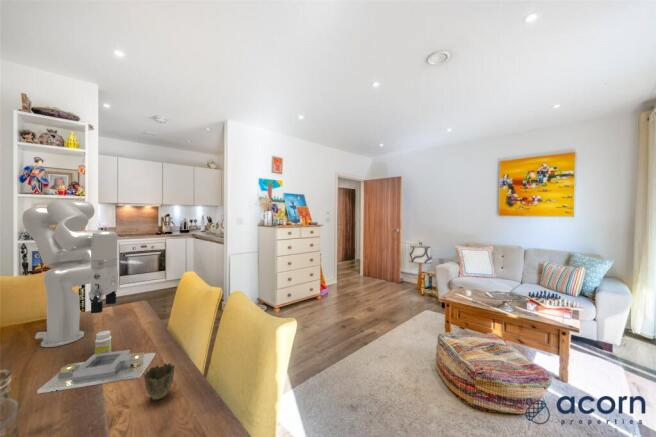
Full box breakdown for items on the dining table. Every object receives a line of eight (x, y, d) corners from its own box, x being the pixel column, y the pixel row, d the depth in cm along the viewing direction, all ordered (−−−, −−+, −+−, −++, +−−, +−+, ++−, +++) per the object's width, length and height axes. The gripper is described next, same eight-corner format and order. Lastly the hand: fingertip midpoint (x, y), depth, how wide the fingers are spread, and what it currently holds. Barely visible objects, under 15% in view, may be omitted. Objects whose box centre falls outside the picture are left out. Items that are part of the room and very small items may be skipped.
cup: (141, 410, 68) (141, 381, 68) (146, 393, 75) (146, 366, 75) (173, 401, 72) (173, 373, 72) (175, 385, 78) (175, 360, 78)
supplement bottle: (101, 351, 97) (102, 330, 97) (114, 350, 98) (115, 329, 98) (91, 358, 93) (91, 335, 92) (104, 357, 93) (105, 335, 93)
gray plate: (37, 393, 74) (37, 379, 74) (69, 366, 87) (69, 354, 87) (140, 377, 82) (140, 364, 82) (155, 355, 95) (155, 344, 95)
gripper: (103, 267, 88) (103, 315, 88) (126, 259, 104) (126, 300, 104) (77, 268, 86) (77, 317, 86) (104, 260, 102) (104, 301, 102)
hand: (104, 308), depth 95 cm, fingers open, 9 cm apart
